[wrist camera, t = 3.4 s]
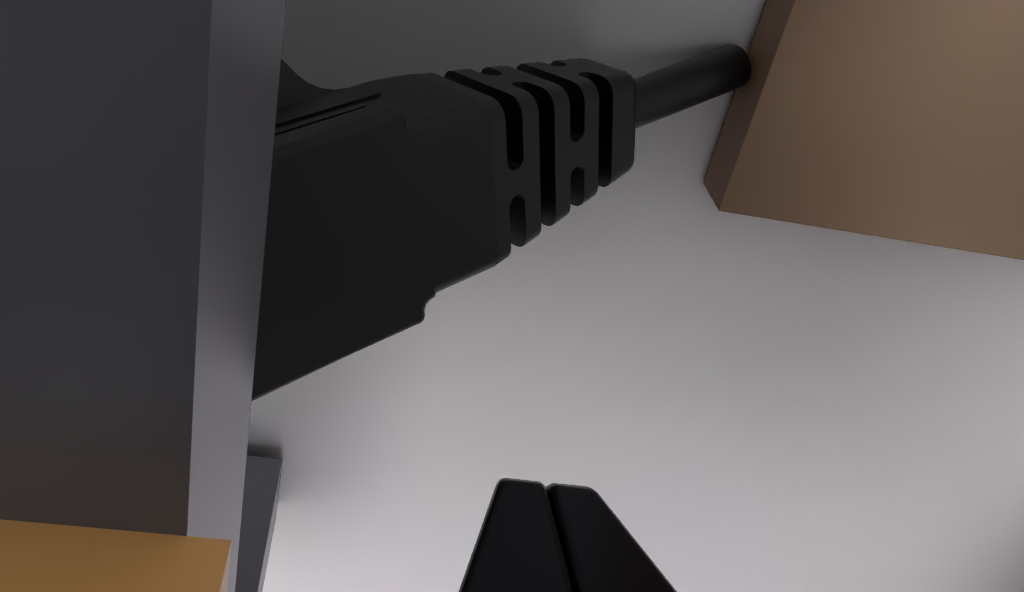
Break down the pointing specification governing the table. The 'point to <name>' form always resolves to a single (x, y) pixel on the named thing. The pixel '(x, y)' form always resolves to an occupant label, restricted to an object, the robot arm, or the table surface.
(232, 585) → the grey arch frame
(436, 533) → the table surface
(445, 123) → the power plug
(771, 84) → the walnut pad
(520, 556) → the robot arm
